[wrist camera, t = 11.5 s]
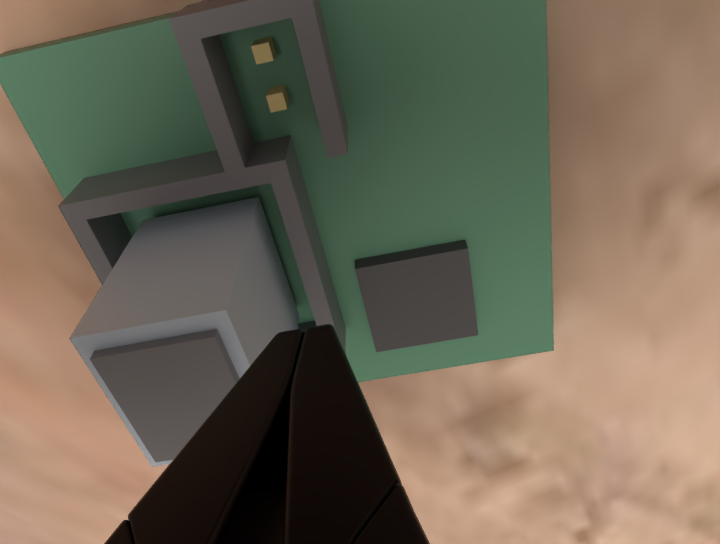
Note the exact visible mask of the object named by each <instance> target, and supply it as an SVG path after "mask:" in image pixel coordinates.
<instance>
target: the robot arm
mask: <svg viewBox="0 0 720 544" xmlns="http://www.w3.org/2000/svg"><path fill="white" fill-rule="evenodd" d="M128 520H129V521H128ZM128 520H124V521H123V522H122V523H121V524H120V525H119V526H118V528H117V529H116V530H115V531H114V532H113V534H112V535H111V536H110V537H109V539H108V540H107V541H106V542H105V543H104V544H430V543H429V541H428V539H427V537H426V535H425V533H424V531H423V529H422V527H421V525H420V522H419V520H418V518H417V516H416V514H415V512H414V510H413V508H412V505H411V503H410V501H409V498H408V496H407V494H406V491H405V489H404V487H403V486H402V484H401V481H400V478H399V476H398V474H397V471H396V469H395V467H394V465H393V462H392V460H391V458H390V455H389V453H388V451H387V448H386V446H385V444H384V441H383V439H382V437H381V435H380V432H379V430H378V428H377V425H376V423H375V421H374V418H373V416H372V414H371V411H370V409H369V407H368V405H367V402H366V400H365V398H364V395H363V393H362V391H361V388H360V386H359V384H358V381H357V379H356V377H355V375H354V372H353V370H352V368H351V365H350V363H349V361H348V358H347V356H346V354H345V352H344V349H343V347H342V345H341V342H340V340H339V338H338V335H337V333H336V331H335V329H334V327H333V325H331V324H325V325H319V326H313V327H309V328H307V329H306V330H303V329H295V330H289V331H283V332H279V333H277V334H276V335H275V336H274V337H273V339H272V340H271V341H270V342H269V343H268V345H267V346H266V347H265V348H264V350H263V351H262V352H261V353H260V354H259V356H258V357H257V358H256V359H255V361H254V362H253V363H252V364H251V365H250V367H249V368H248V369H247V370H246V372H245V373H244V374H243V375H242V376H241V378H240V379H239V380H238V381H237V383H236V384H235V385H234V386H233V387H232V389H231V390H230V391H229V392H228V394H227V395H226V396H225V397H224V398H223V400H222V401H221V402H220V403H219V405H218V406H217V407H216V408H215V409H214V411H213V412H212V413H211V414H210V416H209V417H208V418H207V419H206V420H205V422H204V423H203V424H202V425H201V427H200V428H199V429H198V430H197V431H196V433H195V434H194V435H193V436H192V438H191V439H190V440H189V441H188V442H187V444H186V445H185V446H184V447H183V449H182V450H181V451H180V452H179V453H178V455H177V456H176V457H175V458H174V460H173V461H172V462H171V463H170V464H169V466H168V467H167V468H166V469H165V470H164V472H163V473H162V474H161V475H160V477H159V478H158V479H157V480H156V481H155V483H154V484H153V485H152V486H151V488H150V489H149V490H148V491H147V492H146V494H145V495H144V496H143V497H142V499H141V500H140V501H139V502H138V503H137V505H136V506H135V507H134V508H133V510H132V511H131V512H130V513H129V515H128Z"/></svg>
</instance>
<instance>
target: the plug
mask: <svg viewBox="0 0 720 544" xmlns="http://www.w3.org/2000/svg"><path fill="white" fill-rule="evenodd" d="M298 323H299V313H298V310H297V307H296V304H295V301H294V298H293V295H292V292H291V290H290V287H289V284H288V281H287V278H286V275H285V272H284V269H283V266H282V263H281V260H280V257H279V255H278V252H277V249H276V246H275V243H274V240H273V237H272V234H271V231H270V228H269V225H268V222H267V220H266V217H265V214H264V211H263V208H262V205H261V202H260V199H259V197H255V198H250V199H245V200H240V201H236V202H231V203H226V204H221V205H216V206H211V207H206V208H201V209H196V210H191V211H186V212H181V213H176V214H171V215H166V216H161V217H156V218H151V219H146V220H142V222H141V224H140V225H139V227H138V229H137V230H136V232H135V233H134V235H133V237H132V238H131V240H130V241H129V243H128V245H127V246H126V248H125V250H124V251H123V253H122V254H121V256H120V258H119V259H118V261H117V262H116V264H115V266H114V267H113V269H112V271H111V272H110V274H109V275H108V277H107V279H106V280H105V282H104V283H103V285H102V287H101V288H100V290H99V291H98V293H97V295H96V296H95V298H94V300H93V301H92V303H91V304H90V306H89V308H88V309H87V311H86V312H85V314H84V316H83V317H82V319H81V321H80V322H79V324H78V325H77V327H76V329H75V330H74V332H73V333H72V335H71V337H70V338H69V339H70V340H71V342H72V343H73V345H74V347H75V348H76V350H77V351H78V353H79V354H80V356H81V357H82V359H83V360H84V362H85V364H86V365H87V367H88V368H89V370H90V371H91V373H92V374H93V376H94V377H95V379H96V381H97V382H98V384H99V385H100V387H101V388H102V390H103V391H104V393H105V394H106V396H107V397H108V399H109V401H110V402H111V404H112V405H113V407H114V408H115V410H116V411H117V413H118V414H119V416H120V418H121V419H122V421H123V422H124V424H125V425H126V427H127V428H128V430H129V431H130V433H131V435H132V436H133V438H134V439H135V441H136V442H137V444H138V445H139V447H140V448H141V450H142V452H143V453H144V455H145V456H146V458H147V459H148V461H149V462H150V464H151V465H152V467H153V466H160V465H166V464H170V463H171V462H172V461H173V460H174V458H175V457H176V456H177V455H178V453H179V452H180V451H181V450H182V449H183V447H184V446H185V445H186V444H187V442H188V441H189V440H190V439H191V438H192V436H193V435H194V434H195V433H196V431H197V430H198V429H199V428H200V427H201V425H202V424H203V423H204V422H205V420H206V419H207V418H208V417H209V416H210V414H211V413H212V412H213V411H214V409H215V408H216V407H217V406H218V405H219V403H220V402H221V401H222V400H223V398H224V397H225V396H226V395H227V394H228V392H229V391H230V390H231V389H232V387H233V386H234V385H235V384H236V383H237V381H238V380H239V379H240V378H241V376H242V375H243V374H244V373H245V372H246V370H247V369H248V368H249V367H250V365H251V364H252V363H253V362H254V361H255V359H256V358H257V357H258V356H259V354H260V353H261V352H262V351H263V350H264V348H265V347H266V346H267V345H268V343H269V342H270V341H271V340H272V339H273V337H274V336H275V335H276V334H277V333H279V332H283V331H289V330H295V329H298Z"/></svg>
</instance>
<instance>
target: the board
mask: <svg viewBox="0 0 720 544" xmlns="http://www.w3.org/2000/svg"><path fill="white" fill-rule="evenodd" d="M0 84H1V86H2V88H3V89H4V91H5V93H6V95H7V97H8V99H9V100H10V102H11V104H12V106H13V108H14V109H15V111H16V113H17V115H18V117H19V119H20V120H21V122H22V124H23V126H24V128H25V129H26V131H27V133H28V135H29V137H30V138H31V140H32V142H33V144H34V146H35V148H36V149H37V151H38V153H39V155H40V157H41V158H42V160H43V162H44V164H45V166H46V168H47V169H48V171H49V173H50V175H51V177H52V178H53V180H54V182H55V184H56V186H57V187H58V189H59V191H60V193H61V195H62V197H63V198H64V199H65V198H66V197H67V196H68V195H69V194H70V193H71V191H72V190H73V189H74V188H75V187H76V186H77V185H78V184H79V183H80V182H81V181H82V179H83V178H86V177H91V176H96V175H101V174H105V173H110V172H115V171H120V170H125V169H129V168H134V167H139V166H144V165H149V164H153V163H158V162H163V161H168V160H173V159H177V158H182V157H187V156H192V155H197V154H202V153H206V152H211V151H216V150H217V152H218V155H219V157H220V160H221V163H222V166H223V168H224V171H225V172H228V171H233V170H238V169H243V168H245V166H246V164H247V161H248V158H249V155H250V153H251V150H252V147H253V145H254V142H259V141H264V140H269V139H274V138H278V137H283V136H288V135H291V137H292V141H293V144H294V148H295V151H296V155H297V158H298V162H299V165H300V169H301V172H302V176H303V179H304V183H305V186H306V190H307V193H308V197H309V200H310V204H311V207H312V211H313V214H314V218H315V221H316V225H317V229H318V232H319V236H320V239H321V243H322V246H323V250H324V253H325V257H326V260H327V264H328V267H329V271H330V274H331V278H332V281H333V285H334V288H335V292H336V295H337V299H338V302H339V306H340V309H341V313H342V316H343V320H344V323H345V327H346V356H347V358H348V361H349V363H350V365H351V368H352V370H353V372H354V375H355V377H356V379H357V381H358V382H362V381H368V380H374V379H380V378H387V377H393V376H399V375H405V374H411V373H417V372H424V371H430V370H436V369H442V368H448V367H454V366H461V365H467V364H473V363H479V362H485V361H491V360H498V359H504V358H510V357H516V356H522V355H528V354H535V353H541V352H547V351H553V350H554V341H553V297H552V252H551V208H550V164H549V119H548V75H547V30H546V0H209V1H204V2H200V3H196V4H192V5H188V6H186V7H185V8H183V9H182V10H181V11H179V12H174V13H170V14H166V15H162V16H157V17H153V18H149V19H145V20H140V21H136V22H132V23H127V24H123V25H119V26H115V27H110V28H106V29H102V30H98V31H93V32H89V33H85V34H81V35H76V36H72V37H68V38H64V39H59V40H55V41H51V42H46V43H42V44H38V45H34V46H29V47H25V48H21V49H17V50H12V51H8V52H4V53H2V54H0ZM255 197H259V199H260V202H261V205H262V208H263V211H264V214H265V217H266V220H267V222H268V225H269V228H270V231H271V234H272V237H273V240H274V243H275V246H276V249H277V252H278V255H279V257H280V260H281V263H282V266H283V269H284V272H285V275H286V278H287V281H288V284H289V287H290V290H291V292H292V295H293V298H294V301H295V304H296V307H297V310H298V313H299V323H304V322H309V321H315V319H314V316H313V313H312V309H311V306H310V303H309V300H308V297H307V294H306V291H305V288H304V285H303V281H302V278H301V275H300V272H299V269H298V266H297V263H296V260H295V256H294V253H293V250H292V247H291V244H290V241H289V238H288V235H287V231H286V228H285V225H284V222H283V219H282V216H281V213H280V210H279V206H278V203H277V200H276V197H275V194H274V191H273V188H272V185H271V183H267V184H262V185H257V186H252V187H247V188H242V189H237V190H232V191H227V192H222V193H217V194H212V195H207V196H202V197H197V198H192V199H187V200H182V201H177V202H172V203H167V204H162V205H157V206H152V207H147V208H142V209H137V210H132V211H127V212H122V213H120V214H121V216H122V218H123V220H124V222H125V224H126V226H127V228H128V230H129V232H130V234H131V236H132V237H133V235H134V233H135V232H136V230H137V229H138V227H139V225H140V224H141V222H142V220H146V219H151V218H156V217H161V216H166V215H171V214H176V213H181V212H186V211H191V210H196V209H201V208H206V207H211V206H216V205H221V204H226V203H231V202H236V201H240V200H245V199H250V198H255Z"/></svg>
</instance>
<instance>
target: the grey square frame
mask: <svg viewBox="0 0 720 544" xmlns="http://www.w3.org/2000/svg"><path fill="white" fill-rule="evenodd" d="M267 183H271V185H272V188H273V191H274V194H275V197H276V200H277V203H278V206H279V210H280V213H281V216H282V219H283V222H284V225H285V228H286V231H287V235H288V238H289V241H290V244H291V247H292V250H293V253H294V256H295V260H296V263H297V266H298V269H299V272H300V275H301V278H302V281H303V285H304V288H305V291H306V294H307V297H308V300H309V303H310V306H311V309H312V313H313V316H314V319H315V321H309V322H304V323H298V329H303V330H306V329H307V328H309V327H313V326H319V325H325V324H331V325H333V327H334V329H335V331H336V333H337V335H338V338H339V340H340V342H341V345H342V347H343V349H344V352H345V354H346V327H345V323H344V320H343V316H342V313H341V309H340V306H339V302H338V299H337V295H336V292H335V288H334V285H333V281H332V278H331V274H330V271H329V267H328V264H327V260H326V257H325V253H324V250H323V246H322V243H321V239H320V236H319V232H318V229H317V225H316V221H315V218H314V214H313V211H312V207H311V204H310V200H309V197H308V193H307V190H306V186H305V183H304V179H303V176H302V172H301V169H300V165H299V162H298V158H297V155H296V151H295V148H294V144H293V141H292V137H291V135H288V136H283V137H278V138H274V139H269V140H264V141H259V142H254V145H253V147H252V150H251V153H250V155H249V158H248V161H247V164H246V166H245V168H243V169H238V170H233V171H228V172H225V171H224V168H223V166H222V163H221V160H220V157H219V155H218V152H217V150H216V151H211V152H206V153H202V154H197V155H192V156H187V157H182V158H177V159H173V160H168V161H163V162H158V163H153V164H149V165H144V166H139V167H134V168H129V169H125V170H120V171H115V172H110V173H105V174H101V175H96V176H91V177H86V178H83V179H82V181H81V182H80V183H79V184H78V185H77V186H76V187H75V188H74V189H73V190H72V191H71V193H70V194H69V195H68V196H67V197H66V198H65V199H64V200H63V201H62V202H61V204H60V205H59V206H58V207H59V209H60V210H61V212H62V214H63V216H64V218H65V219H66V221H67V223H68V225H69V226H70V228H71V230H72V232H73V234H74V235H75V237H76V239H77V241H78V242H79V244H80V246H81V248H82V250H83V251H84V253H85V255H86V257H87V258H88V260H89V262H90V264H91V266H92V267H93V269H94V271H95V273H96V274H97V276H98V278H99V280H100V282H101V283H102V285H103V283H104V282H105V280H106V279H107V277H108V275H109V274H110V272H111V271H112V269H113V267H114V266H115V264H116V262H117V261H118V259H119V258H120V256H121V254H122V253H123V251H124V250H125V248H126V246H127V245H128V243H129V241H130V240H131V238H132V236H131V234H130V232H129V230H128V228H127V226H126V224H125V222H124V220H123V218H122V216H121V214H120V213H122V212H127V211H132V210H137V209H142V208H147V207H152V206H157V205H162V204H167V203H172V202H177V201H182V200H187V199H192V198H197V197H202V196H207V195H212V194H217V193H222V192H227V191H232V190H237V189H242V188H247V187H252V186H257V185H262V184H267Z"/></svg>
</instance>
